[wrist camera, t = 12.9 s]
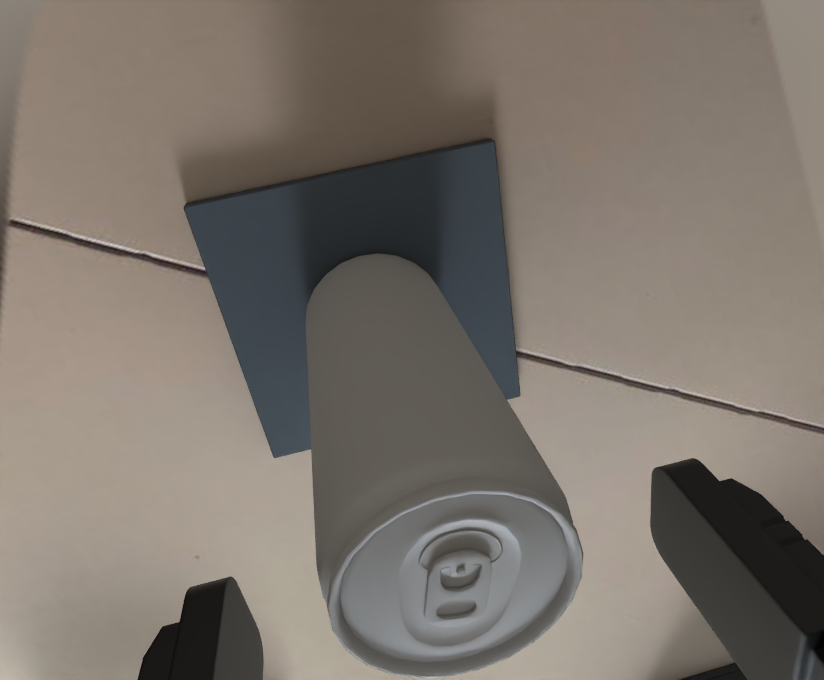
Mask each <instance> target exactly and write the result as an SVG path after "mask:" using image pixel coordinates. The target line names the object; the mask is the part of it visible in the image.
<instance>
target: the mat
mask: <svg viewBox="0 0 824 680" xmlns="http://www.w3.org/2000/svg"><path fill="white" fill-rule="evenodd" d="M184 211H185V213H186V216H187V219H188V222H189V225H190V227H191V230H192V233H193V236H194V238H195V241H196V244H197V247H198V249H199V252H200V255H201V258H202V261H203V263H204V266H205V269H206V272H207V274H208V277H209V280H210V283H211V285H212V288H213V291H214V294H215V296H216V299H217V302H218V305H219V308H220V310H221V313H222V316H223V319H224V321H225V324H226V327H227V330H228V332H229V335H230V338H231V341H232V344H233V346H234V349H235V352H236V355H237V357H238V360H239V363H240V366H241V368H242V371H243V374H244V377H245V379H246V382H247V385H248V388H249V391H250V393H251V396H252V399H253V402H254V404H255V407H256V410H257V413H258V415H259V418H260V421H261V424H262V427H263V429H264V432H265V435H266V438H267V440H268V443H269V446H270V449H271V451H272V454H273V457H274V458H277V457H281V456H285V455H289V454H293V453H297V452H301V451H305V450H309V449H311V427H310V405H309V383H308V363H307V343H306V312H307V305H308V302H309V300H310V298H311V295H312V293H313V291H314V289H315V287H316V286H317V285H318V284H319V282H320V281H321V280H322V279H323V277H324V276H325V275H326V274H327V273H329V272H330V271H331V270H333V269H334V268H335V267H337V266H338V265H339V264H341V263H343V262H345V261H348V260H350V259H353V258H355V257H358V256H363V255H370V254H377V253H379V254H387V255H395V256H399V257H401V258H404V259H406V260H409V261H411V262H414V263H415V264H416V265H418V266H419V267H420V268H422V269H423V270H424V271H426V272H427V273H428V274H429V275H430V277H431V278H432V280H433V281H434V282H435V284H436V285H437V286H438V288H439V289H440V291H441V293H442V294H443V296H444V298H445V299H446V301H447V303H448V304H449V306H450V308H451V309H452V311H453V312H454V314H455V316H456V317H457V319H458V321H459V322H460V324H461V326H462V327H463V329H464V331H465V332H466V334H467V335H468V337H469V339H470V340H471V342H472V344H473V345H474V347H475V349H476V350H477V352H478V353H479V355H480V357H481V358H482V360H483V362H484V363H485V365H486V367H487V368H488V370H489V372H490V373H491V375H492V376H493V378H494V380H495V381H496V383H497V385H498V386H499V388H500V390H501V391H502V393H503V395H504V396H505V398H506V399H507V400H508V399H512V398H516V397H519V396H520V387H519V377H518V367H517V357H516V347H515V337H514V327H513V317H512V307H511V297H510V287H509V277H508V267H507V257H506V247H505V237H504V227H503V217H502V207H501V197H500V187H499V177H498V167H497V157H496V147H495V141H494V140H492V139H485V140H480V141H476V142H471V143H466V144H462V145H457V146H452V147H448V148H443V149H438V150H434V151H429V152H424V153H420V154H415V155H410V156H406V157H401V158H396V159H392V160H387V161H382V162H377V163H373V164H368V165H363V166H359V167H354V168H349V169H345V170H340V171H335V172H331V173H326V174H321V175H317V176H312V177H307V178H303V179H298V180H293V181H289V182H284V183H279V184H275V185H270V186H265V187H260V188H256V189H251V190H246V191H242V192H237V193H232V194H228V195H223V196H218V197H214V198H209V199H204V200H200V201H195V202H190V203H187V204H185V206H184Z"/></svg>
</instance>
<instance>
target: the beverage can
mask: <svg viewBox="0 0 824 680" xmlns="http://www.w3.org/2000/svg"><path fill="white" fill-rule="evenodd" d="M306 343H307V363H308V383H309V405H310V427H311V451H312V474H313V497H314V519H315V539H316V560H317V570H318V576H319V580H320V585H321V590H322V594H323V598H324V599H325V601H326V603H327V608H328V612H329V617H330V621H331V626H332V630H333V631H334V633H335V634H336V636H337V637H338V639H339V640H340V642H341V643H342V645H343V646H344V648H345V649H346V651H348V652H349V653H351V654H352V655H353V656H355V657H356V658H357V659H359V660H360V661H362V662H363V663H364V664H366V665H368V666H370V667H373V668H376V669H378V670H381V671H384V672H386V673H389V674H392V675H400V676H408V677H415V678H429V677H447V676H453V675H458V674H462V673H466V672H471V671H475V670H479V669H482V668H484V667H487V666H489V665H492V664H494V663H497V662H499V661H502V660H504V659H507V658H509V657H510V656H512V655H514V654H515V653H517V652H519V651H520V650H522V649H524V648H525V647H527V646H528V645H530V644H532V643H533V642H535V641H536V640H537V639H538V638H539V637H540V636H541V635H543V634H544V633H545V632H546V631H547V630H548V629H549V628H550V627H552V626H553V625H554V624H555V623H556V622H557V620H558V619H559V618H560V616H561V615H562V614H563V612H564V611H565V610H566V608H567V607H568V606H569V604H570V603H571V601H572V599H573V597H574V595H575V592H576V590H577V587H578V585H579V582H580V580H581V577H582V564H583V550H582V547H581V544H580V540H579V537H578V533H577V530H576V528H575V527H574V525H573V521H572V517H571V514H570V510H569V507H568V503H567V500H566V497H565V495H564V493H563V491H562V490H561V488H560V487H559V485H558V483H557V482H556V480H555V478H554V477H553V475H552V473H551V472H550V470H549V468H548V467H547V465H546V464H545V462H544V460H543V459H542V457H541V455H540V454H539V452H538V450H537V449H536V447H535V445H534V444H533V442H532V441H531V439H530V437H529V436H528V434H527V432H526V431H525V429H524V427H523V426H522V424H521V422H520V421H519V419H518V418H517V416H516V414H515V413H514V411H513V409H512V408H511V406H510V404H509V403H508V401H507V399H506V398H505V396H504V395H503V393H502V391H501V390H500V388H499V386H498V385H497V383H496V381H495V380H494V378H493V376H492V375H491V373H490V372H489V370H488V368H487V367H486V365H485V363H484V362H483V360H482V358H481V357H480V355H479V353H478V352H477V350H476V349H475V347H474V345H473V344H472V342H471V340H470V339H469V337H468V335H467V334H466V332H465V331H464V329H463V327H462V326H461V324H460V322H459V321H458V319H457V317H456V316H455V314H454V312H453V311H452V309H451V308H450V306H449V304H448V303H447V301H446V299H445V298H444V296H443V294H442V293H441V291H440V289H439V288H438V286H437V285H436V284H435V282H434V281H433V280H432V278H431V277H430V275H429V274H428V273H427V272H426V271H424V270H423V269H422V268H420V267H419V266H418V265H416V264H415V263H414V262H411V261H409V260H406V259H404V258H401V257H399V256H395V255H387V254H379V253H377V254H370V255H363V256H358V257H355V258H353V259H350V260H348V261H345V262H343V263H341V264H339V265H338V266H337V267H335V268H334V269H333V270H331V271H330V272H329V273H327V274H326V275H325V276H324V277H323V279H322V280H321V281H320V282H319V284H318V285H317V286H316V287H315V289H314V291H313V293H312V295H311V298H310V300H309V302H308V305H307V312H306Z"/></svg>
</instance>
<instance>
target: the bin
mask: <svg viewBox="0 0 824 680" xmlns="http://www.w3.org/2000/svg"><path fill="white" fill-rule="evenodd" d="M683 680H747V678H746V677H745V675H744V674H743V672H742V671H741V670H740V668H739V667H738V665H737V664H733V665H729V666H726V667H723V668H719V669H716V670H713V671H709V672H706V673H703V674H699V675H696V676H693V677H689V678H686V679H683Z"/></svg>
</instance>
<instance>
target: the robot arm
mask: <svg viewBox="0 0 824 680" xmlns="http://www.w3.org/2000/svg"><path fill="white" fill-rule="evenodd" d="M650 526H651V532H652V536H653V540H654V543H655V545H656V548H657V550H658V552H659V554H660V555H661V557H662V559H663V560H664V562H665V563H666V564H667V566H668V567H669V569H670V570H671V571H672V573H673V574H674V576H675V577H676V579H677V580H678V581H679V583H680V584H681V586H682V587H683V589H684V590H685V591H686V593H687V594H688V596H689V597H690V598H691V600H692V601H693V603H694V604H695V606H696V607H697V608H698V610H699V611H700V613H701V614H702V616H703V617H704V618H705V620H706V621H707V623H708V624H709V626H710V627H711V628H712V630H713V631H714V633H715V634H716V635H717V637H718V638H719V640H720V641H721V643H722V644H723V645H724V647H725V648H726V650H727V651H728V653H729V654H730V655H731V657H732V658H733V660H734V661H735V663H736V664H737V665H738V667H739V668H740V670H741V671H742V672H743V674H744V675H745V677H746V678H747V680H824V555H823V554H821V553H820V552H819V551H818V550H817V549H816V548H815V547H814V546H813V545H812V544H811V543H810V542H809V541H808V540H804V538H803V537H802V534H801V533H800V532H799V531H798V530H797V529H796V528H795V527H794V526H793V525H792V524H791V523H790V522H789V521H785V520H784V516H783V515H782V514H781V513H780V512H779V511H778V510H777V509H776V508H774V507H773V506H772V505H771V504H770V503H769V502H768V501H767V500H766V499H765V498H764V497H763V496H762V495H761V494H759V493H758V492H756V491H754V490H752V489H750V488H748V487H747V486H745V485H743V484H741V483H739V482H737V481H736V480H734V479H732V478H731V479H727V480H723V481H719V480H718V479H717V478H716V477H715V476H714V475H713V474H712V473H711V472H710V471H709V470H708V469H707V468H706V467H705V466H704V465H703V464H702V463H701V462H700V461H699V460H697V459H694V458H692V459H688V460H684V461H680V462H676V463H672V464H668V465H664V466H661V467H657V468H655V469H654V470H653V472H652V483H651V519H650ZM138 680H263V648H262V641H261V637H260V633H259V630H258V627H257V625H256V623H255V621H254V618H253V616H252V614H251V612H250V610H249V608H248V606H247V603H246V601H245V599H244V597H243V595H242V593H241V590H240V588H239V586H238V584H237V582H236V580H235V579H234V578H233V577H227V578H223V579H220V580H216V581H212V582H208V583H204V584H200V585H196V586H193V587H190V588H189V589H188V590H187V592H186V595H185V599H184V604H183V608H182V613H181V618H180V622H178V623H174V624H170V625H167V626H163V627H162V628H161V630H160V631H159V633H158V634H157V636H156V638H155V639H154V641H153V642H152V644H151V646H150V647H149V649H148V651H147V652H146V654H145V655H144V657H143V661H142V664H141V668H140V672H139V676H138Z"/></svg>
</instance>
